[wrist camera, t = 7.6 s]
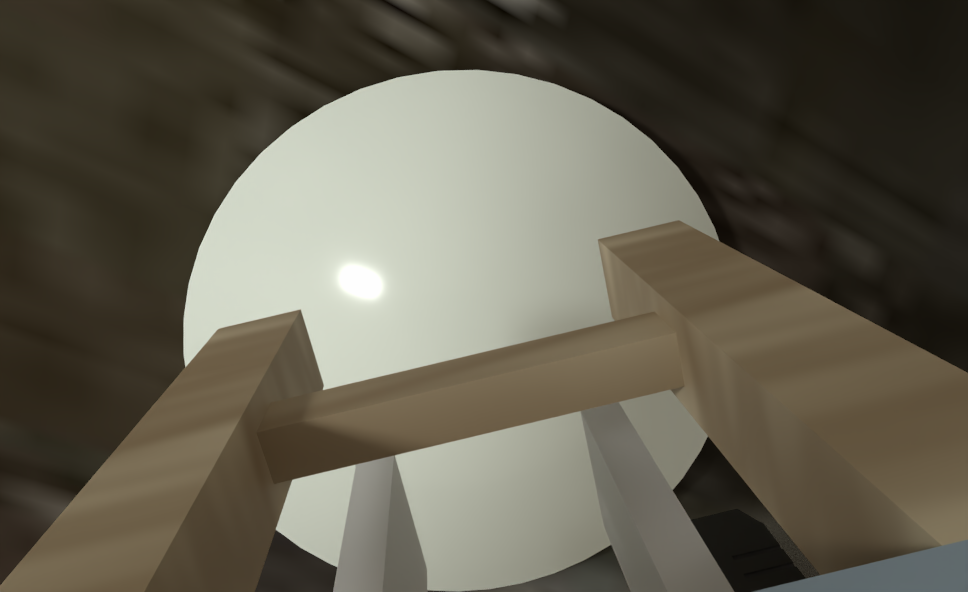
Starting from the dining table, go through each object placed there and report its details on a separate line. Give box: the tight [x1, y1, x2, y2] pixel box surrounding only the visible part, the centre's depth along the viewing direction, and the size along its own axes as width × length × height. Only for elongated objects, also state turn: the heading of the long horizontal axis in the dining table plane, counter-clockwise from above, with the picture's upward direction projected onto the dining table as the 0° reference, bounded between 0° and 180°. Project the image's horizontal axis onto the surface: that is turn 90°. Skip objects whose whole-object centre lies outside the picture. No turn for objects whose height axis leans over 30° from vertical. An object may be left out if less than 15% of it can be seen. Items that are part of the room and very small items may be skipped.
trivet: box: [184, 70, 719, 591], centre depth 22 cm, size 16×16×1 cm
